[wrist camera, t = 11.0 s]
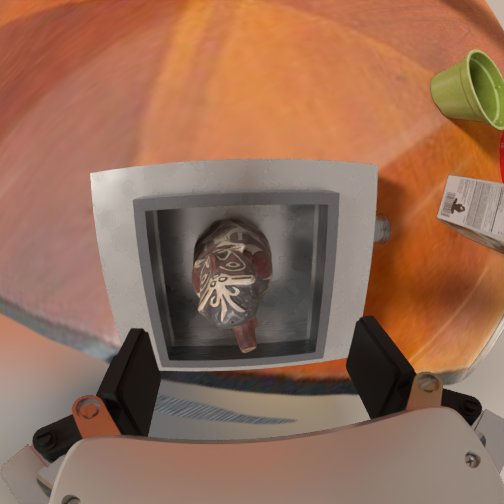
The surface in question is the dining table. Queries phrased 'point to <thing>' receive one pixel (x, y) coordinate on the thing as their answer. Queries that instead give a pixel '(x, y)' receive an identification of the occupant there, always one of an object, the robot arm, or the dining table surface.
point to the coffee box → (475, 210)
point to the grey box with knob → (280, 240)
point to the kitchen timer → (502, 157)
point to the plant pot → (471, 90)
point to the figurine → (232, 277)
